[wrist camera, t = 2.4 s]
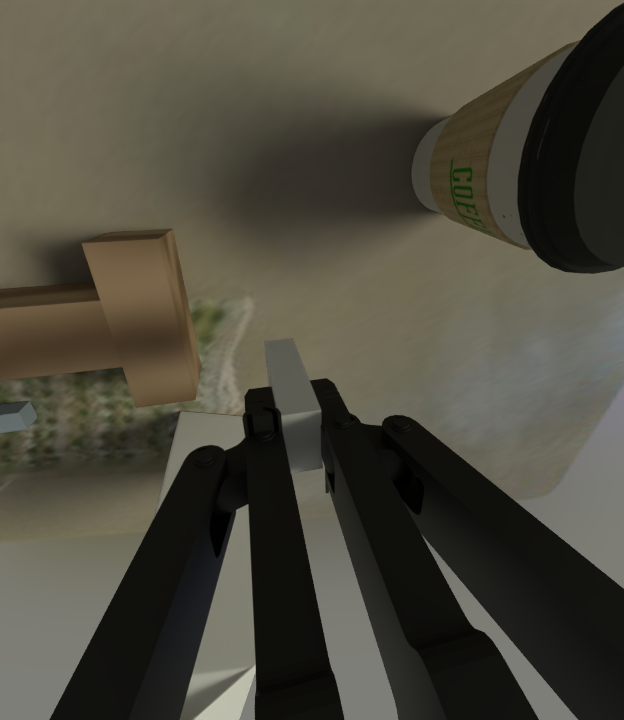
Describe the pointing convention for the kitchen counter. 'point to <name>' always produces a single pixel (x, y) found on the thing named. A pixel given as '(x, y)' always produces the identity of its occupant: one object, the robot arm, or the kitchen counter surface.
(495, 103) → the coffee cup
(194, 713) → the milk
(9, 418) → the t bay
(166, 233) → the t block
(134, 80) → the kitchen counter surface
